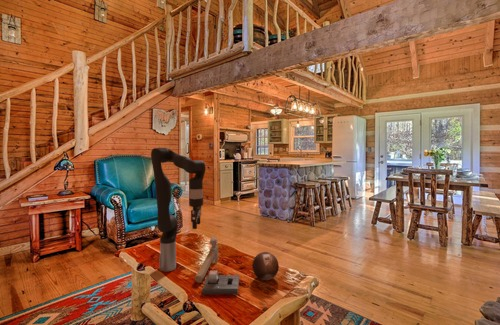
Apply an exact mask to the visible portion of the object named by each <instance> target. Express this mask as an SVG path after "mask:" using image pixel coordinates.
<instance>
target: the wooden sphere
mask: <svg viewBox="0 0 500 325" xmlns="http://www.w3.org/2000/svg"><path fill="white" fill-rule="evenodd" d="M279 266H280V264H279V261H278V259H277V257H276V256H275V255H274V254H273V253H271V252H268V251H262V252H260V253H258V254H256V256H255V257H254V258H253V261H252V266H251V268H252V272H253V273H254V275H255V276H256V277H257V278H258V279H260V280H262V281H269V280H272V279H274V278H275V277H276V275H277V274H278V272H279Z"/></svg>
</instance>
